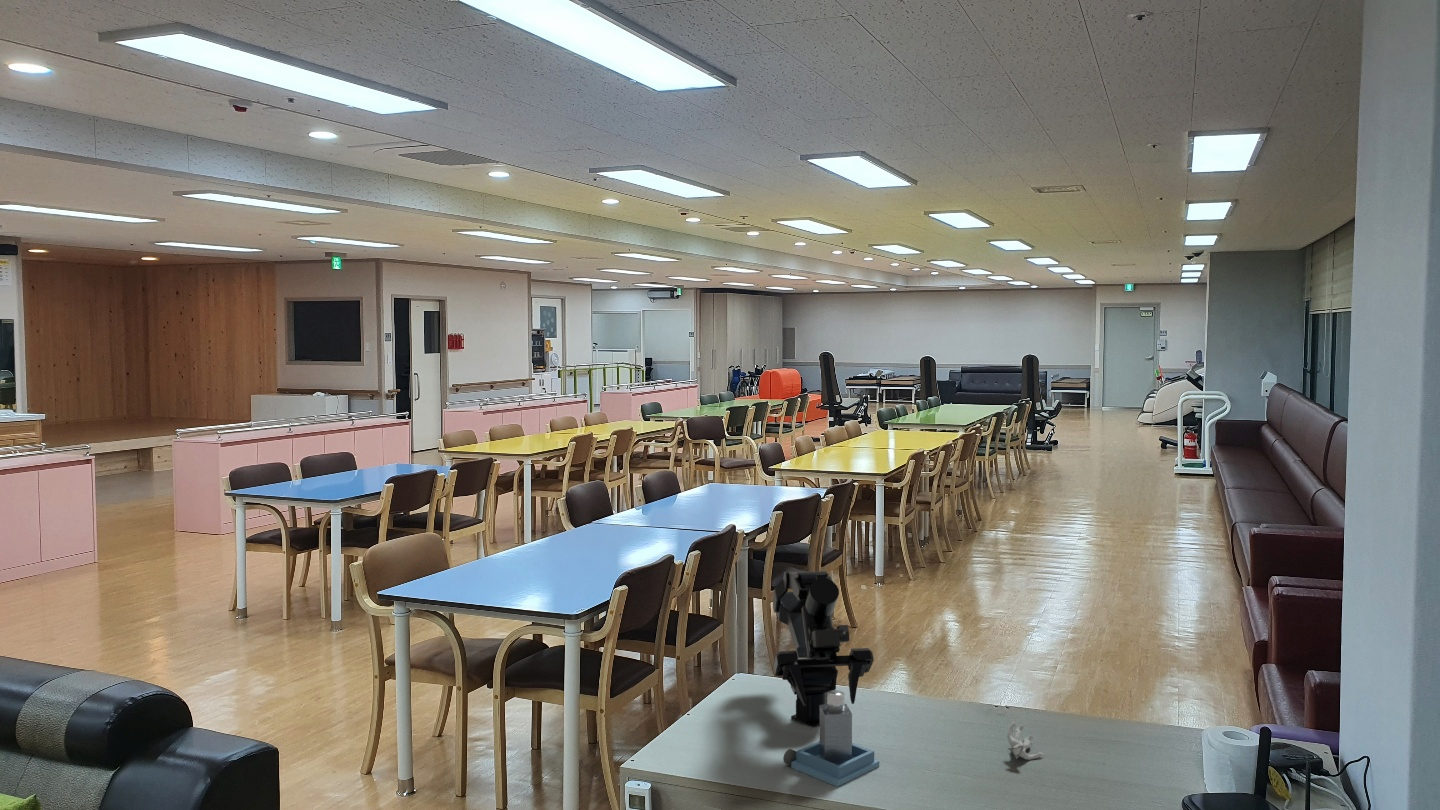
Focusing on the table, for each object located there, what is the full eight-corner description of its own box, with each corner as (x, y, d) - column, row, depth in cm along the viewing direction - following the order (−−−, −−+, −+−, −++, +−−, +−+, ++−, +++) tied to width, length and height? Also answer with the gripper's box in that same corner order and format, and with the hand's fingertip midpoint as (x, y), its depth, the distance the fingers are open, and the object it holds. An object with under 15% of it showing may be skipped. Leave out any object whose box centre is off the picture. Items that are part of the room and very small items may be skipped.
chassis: (830, 745, 202) (830, 730, 201) (881, 765, 193) (881, 749, 192) (783, 766, 192) (783, 750, 192) (834, 787, 184) (834, 771, 183)
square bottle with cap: (819, 756, 194) (819, 688, 193) (845, 755, 195) (846, 687, 193) (824, 768, 189) (824, 698, 188) (851, 767, 190) (852, 697, 188)
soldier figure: (1044, 749, 202) (1047, 755, 190) (1025, 766, 202) (1027, 772, 190) (1015, 716, 204) (1017, 720, 193) (997, 733, 204) (997, 737, 193)
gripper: (776, 611, 199) (785, 688, 190) (871, 607, 201) (885, 684, 191) (770, 637, 208) (778, 712, 198) (862, 634, 210) (874, 708, 200)
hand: (829, 704), depth 197 cm, fingers open, 9 cm apart
